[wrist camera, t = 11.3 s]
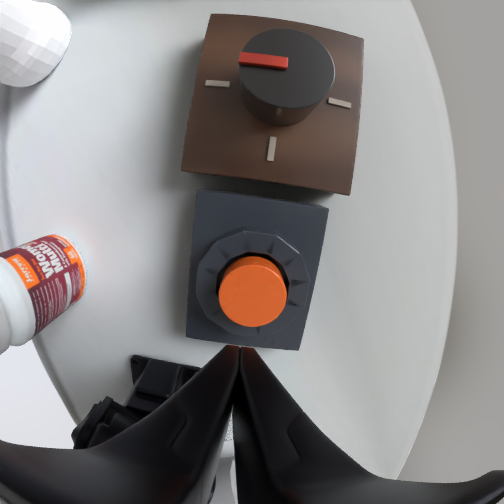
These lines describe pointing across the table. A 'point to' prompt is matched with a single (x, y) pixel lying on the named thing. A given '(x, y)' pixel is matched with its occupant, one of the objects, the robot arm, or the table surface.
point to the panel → (266, 135)
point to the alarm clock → (226, 476)
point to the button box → (260, 245)
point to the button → (252, 292)
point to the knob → (284, 75)
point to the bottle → (31, 41)
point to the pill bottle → (38, 286)
